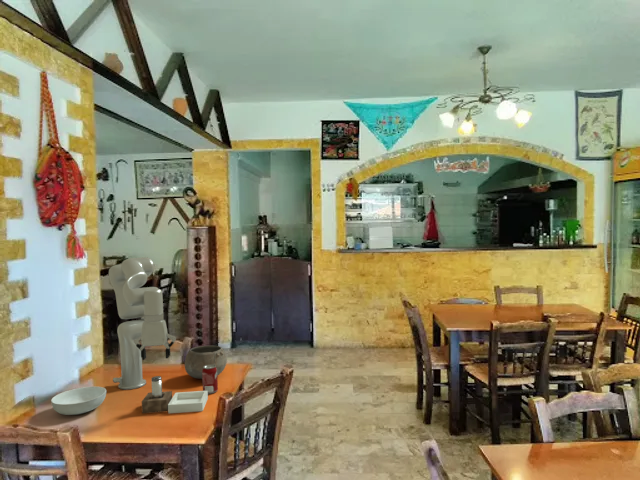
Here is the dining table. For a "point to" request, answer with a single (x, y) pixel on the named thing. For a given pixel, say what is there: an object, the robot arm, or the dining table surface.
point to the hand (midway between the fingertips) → (155, 358)
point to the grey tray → (188, 402)
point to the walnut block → (156, 403)
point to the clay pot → (204, 360)
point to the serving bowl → (78, 400)
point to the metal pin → (156, 387)
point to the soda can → (210, 378)
